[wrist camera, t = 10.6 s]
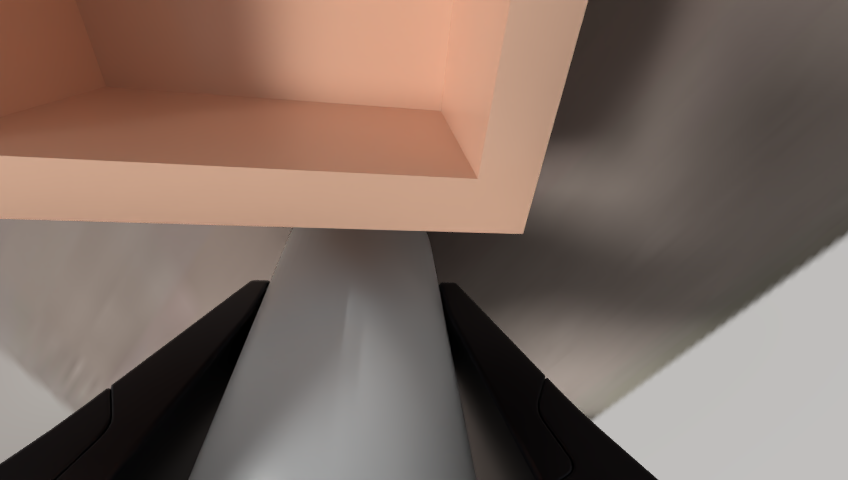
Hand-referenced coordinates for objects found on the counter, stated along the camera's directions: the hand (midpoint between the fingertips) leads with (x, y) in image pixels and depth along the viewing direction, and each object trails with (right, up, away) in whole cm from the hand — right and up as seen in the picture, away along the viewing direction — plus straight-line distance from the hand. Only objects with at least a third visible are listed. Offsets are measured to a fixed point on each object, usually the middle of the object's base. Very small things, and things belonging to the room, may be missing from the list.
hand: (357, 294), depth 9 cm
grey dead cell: (0, +1, +1) cm, 2 cm away
